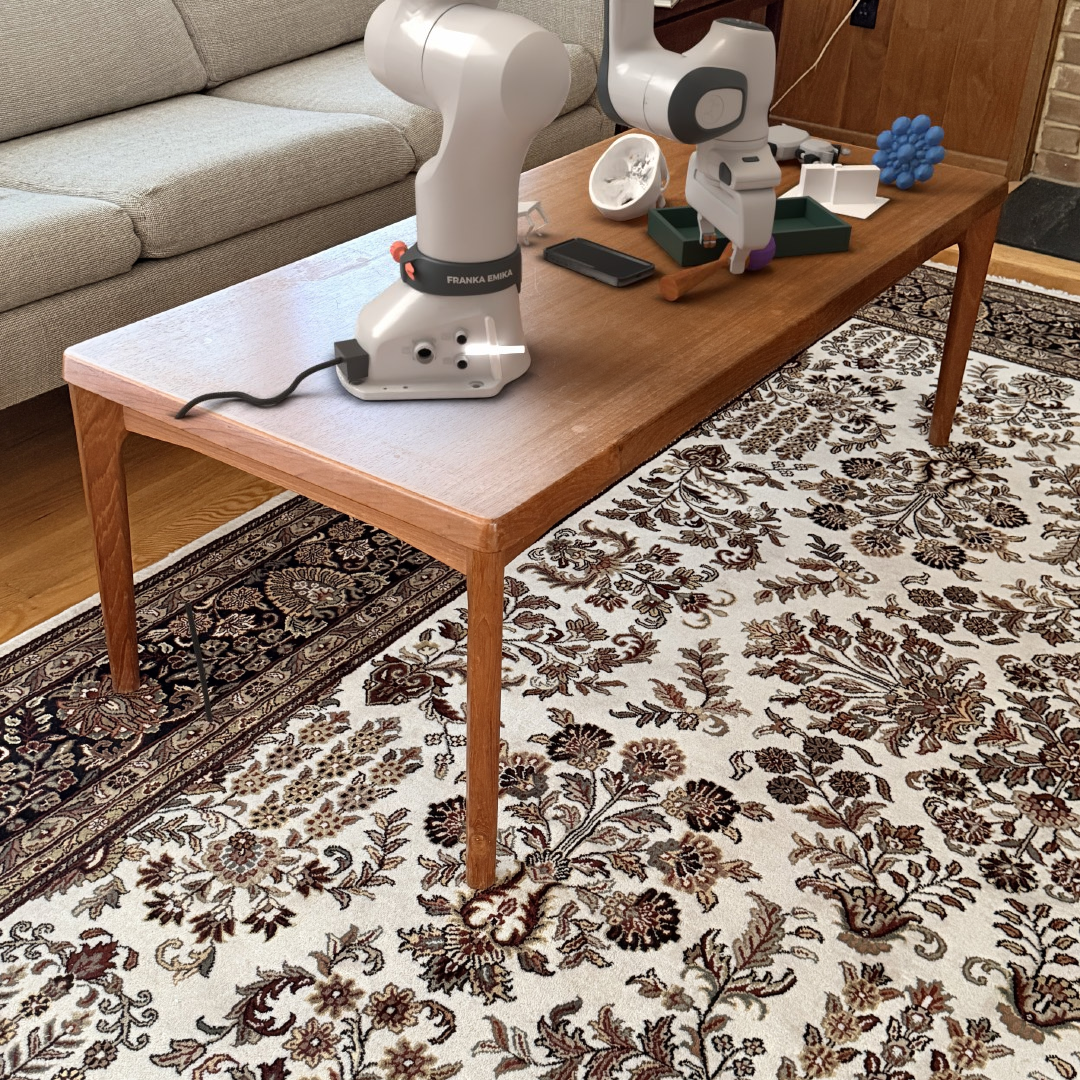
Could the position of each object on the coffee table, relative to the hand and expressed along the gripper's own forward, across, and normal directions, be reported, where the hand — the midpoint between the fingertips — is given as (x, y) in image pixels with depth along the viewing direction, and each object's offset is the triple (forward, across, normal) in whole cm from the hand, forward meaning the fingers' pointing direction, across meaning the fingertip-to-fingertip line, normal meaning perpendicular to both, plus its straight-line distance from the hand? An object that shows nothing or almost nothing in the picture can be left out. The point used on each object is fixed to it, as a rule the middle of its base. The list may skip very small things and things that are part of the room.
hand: (721, 258), depth 163 cm
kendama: (+3, 0, 0) cm, 3 cm away
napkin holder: (+4, -27, +31) cm, 41 cm away
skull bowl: (+3, -29, -2) cm, 29 cm away
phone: (+3, -9, -14) cm, 17 cm away
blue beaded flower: (+4, -29, +45) cm, 54 cm away
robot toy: (+4, -46, +34) cm, 57 cm away
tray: (+3, -13, +10) cm, 16 cm away
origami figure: (+3, -21, -24) cm, 32 cm away
